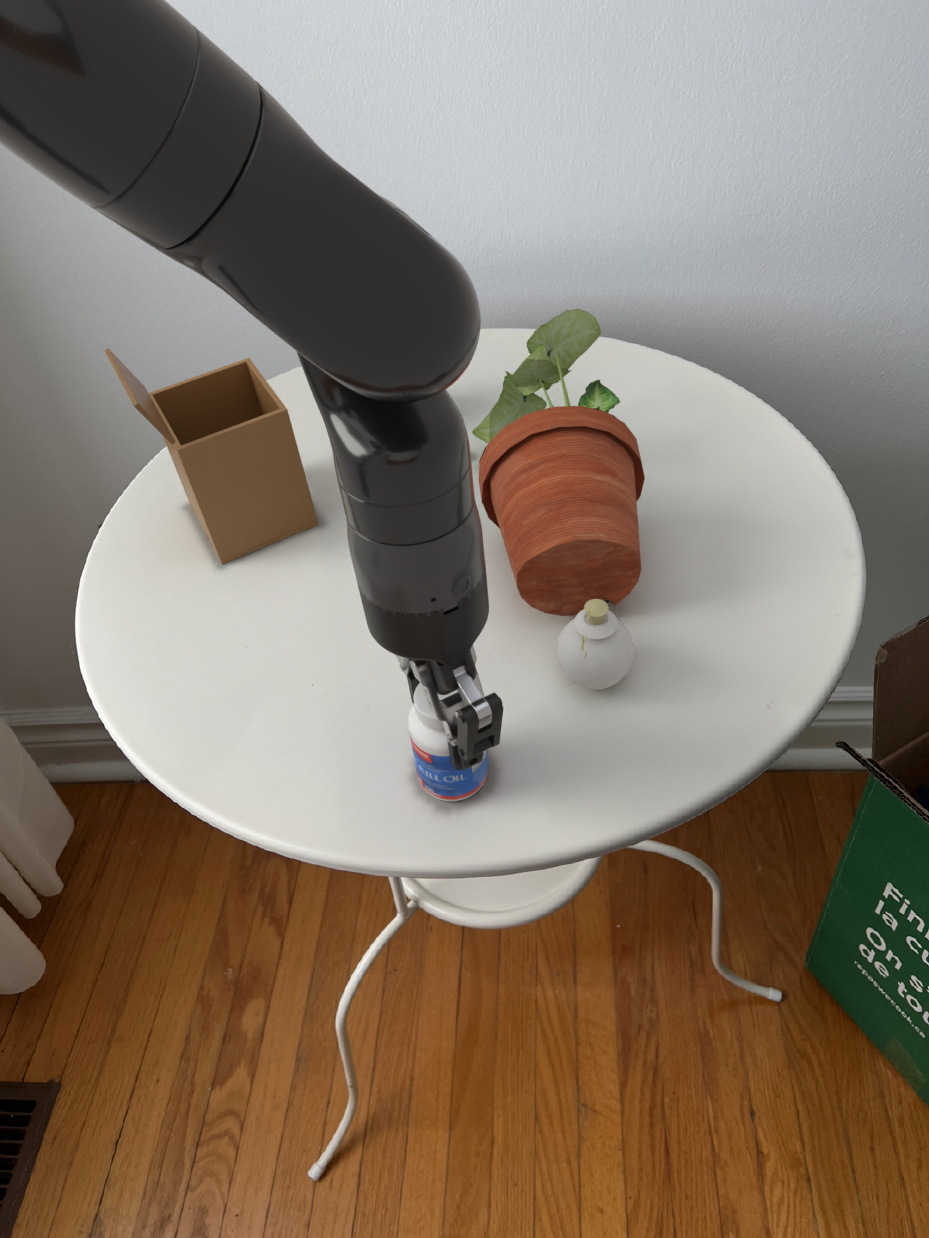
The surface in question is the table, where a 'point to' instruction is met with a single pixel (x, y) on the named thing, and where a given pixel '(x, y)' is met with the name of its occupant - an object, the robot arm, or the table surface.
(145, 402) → the flap
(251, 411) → the carton
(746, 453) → the table surface
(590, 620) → the white potion bottle
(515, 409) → the potted plant
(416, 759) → the pill bottle
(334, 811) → the table surface
